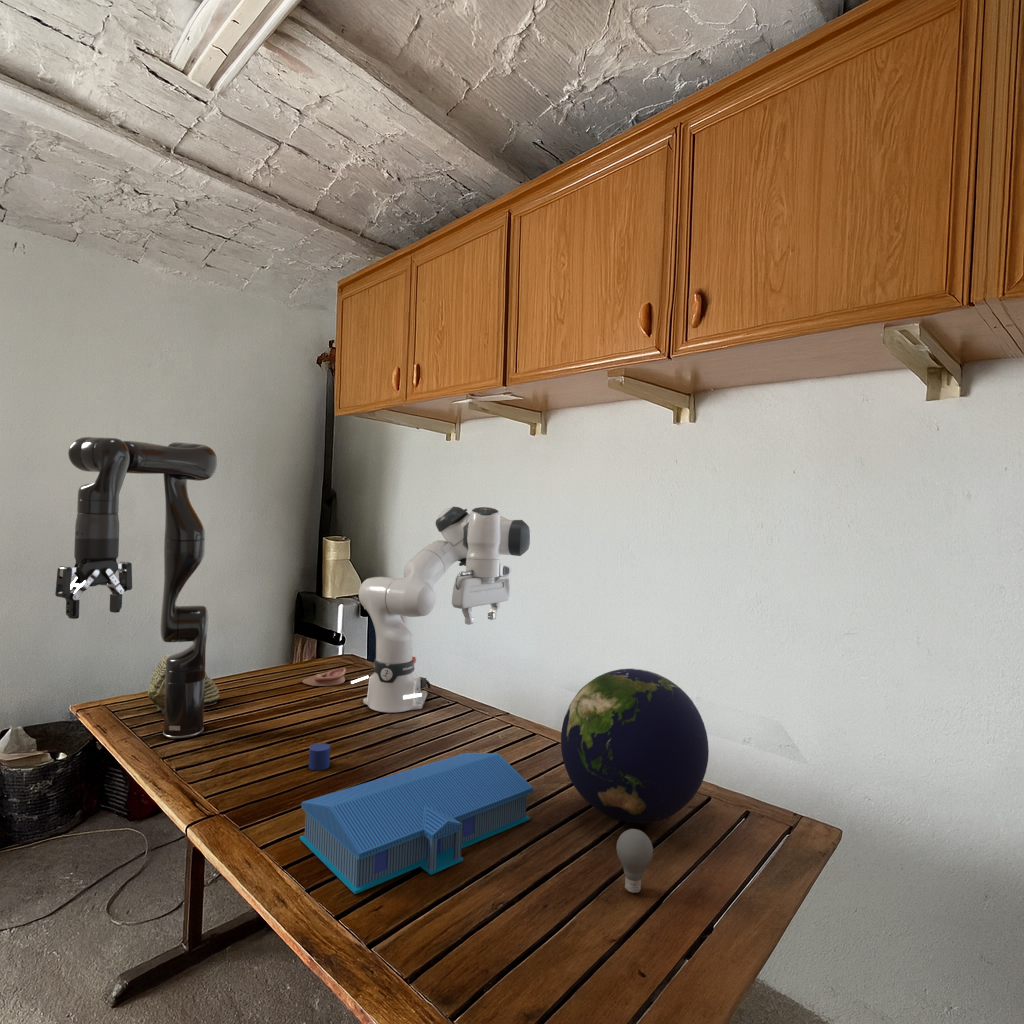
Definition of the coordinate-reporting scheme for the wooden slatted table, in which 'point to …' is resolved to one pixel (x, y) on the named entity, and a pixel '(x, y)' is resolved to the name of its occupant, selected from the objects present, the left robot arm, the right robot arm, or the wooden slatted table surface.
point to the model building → (414, 818)
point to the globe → (634, 745)
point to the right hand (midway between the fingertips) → (480, 621)
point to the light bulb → (634, 857)
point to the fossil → (158, 687)
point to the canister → (319, 756)
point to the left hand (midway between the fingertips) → (94, 615)
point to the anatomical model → (326, 678)
